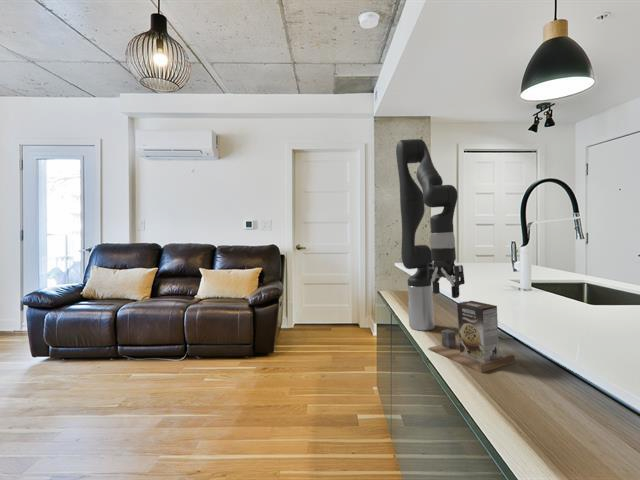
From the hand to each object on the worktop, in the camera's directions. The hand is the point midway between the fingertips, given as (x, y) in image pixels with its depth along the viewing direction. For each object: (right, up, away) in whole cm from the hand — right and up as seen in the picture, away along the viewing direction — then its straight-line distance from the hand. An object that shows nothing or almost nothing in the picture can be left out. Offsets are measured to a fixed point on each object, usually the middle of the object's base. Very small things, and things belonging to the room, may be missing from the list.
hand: (445, 295), depth 107 cm
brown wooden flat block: (+4, -17, -7) cm, 19 cm away
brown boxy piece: (+6, -17, -11) cm, 21 cm away
